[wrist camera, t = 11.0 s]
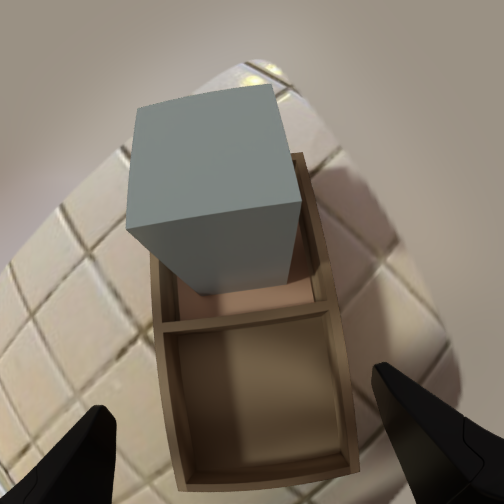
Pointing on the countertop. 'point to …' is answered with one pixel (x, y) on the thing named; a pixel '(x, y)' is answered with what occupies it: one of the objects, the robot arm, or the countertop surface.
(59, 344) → the countertop surface
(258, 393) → the slot holder
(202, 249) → the grey tall block
